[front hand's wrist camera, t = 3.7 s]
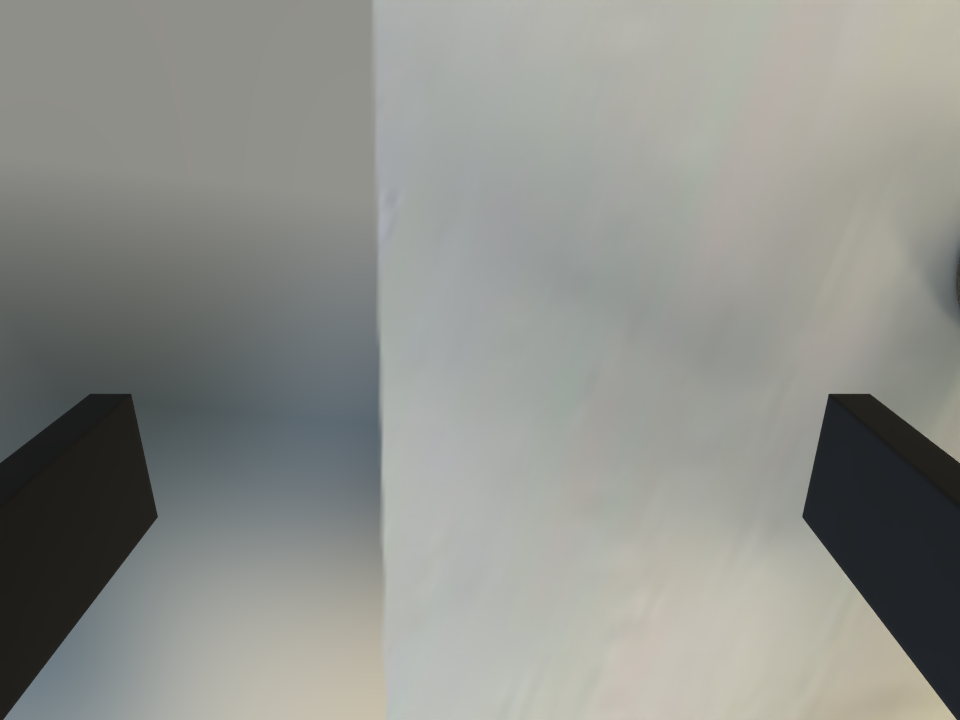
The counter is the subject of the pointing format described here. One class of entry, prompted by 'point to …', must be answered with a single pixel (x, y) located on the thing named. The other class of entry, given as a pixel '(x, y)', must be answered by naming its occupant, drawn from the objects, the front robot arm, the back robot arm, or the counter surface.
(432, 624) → the counter surface
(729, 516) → the counter surface
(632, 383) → the counter surface
